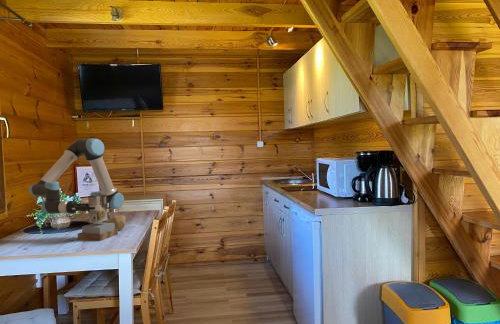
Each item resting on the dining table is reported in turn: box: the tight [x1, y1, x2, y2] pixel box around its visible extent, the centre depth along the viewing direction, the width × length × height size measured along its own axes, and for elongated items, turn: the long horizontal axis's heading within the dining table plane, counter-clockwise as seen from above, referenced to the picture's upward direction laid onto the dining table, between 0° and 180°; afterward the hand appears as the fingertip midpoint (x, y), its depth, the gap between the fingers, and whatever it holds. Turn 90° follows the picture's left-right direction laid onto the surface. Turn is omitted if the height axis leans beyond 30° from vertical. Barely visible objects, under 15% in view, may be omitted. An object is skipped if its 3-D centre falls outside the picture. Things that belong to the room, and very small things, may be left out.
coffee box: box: [88, 194, 108, 224], centre depth 215 cm, size 9×6×16 cm
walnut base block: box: [77, 229, 119, 242], centre depth 215 cm, size 16×16×4 cm
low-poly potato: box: [104, 215, 126, 232], centre depth 233 cm, size 15×11×12 cm
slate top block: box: [81, 222, 115, 234], centre depth 215 cm, size 13×13×4 cm
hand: (104, 206), depth 215 cm, fingers closed on coffee box, 10 cm apart
